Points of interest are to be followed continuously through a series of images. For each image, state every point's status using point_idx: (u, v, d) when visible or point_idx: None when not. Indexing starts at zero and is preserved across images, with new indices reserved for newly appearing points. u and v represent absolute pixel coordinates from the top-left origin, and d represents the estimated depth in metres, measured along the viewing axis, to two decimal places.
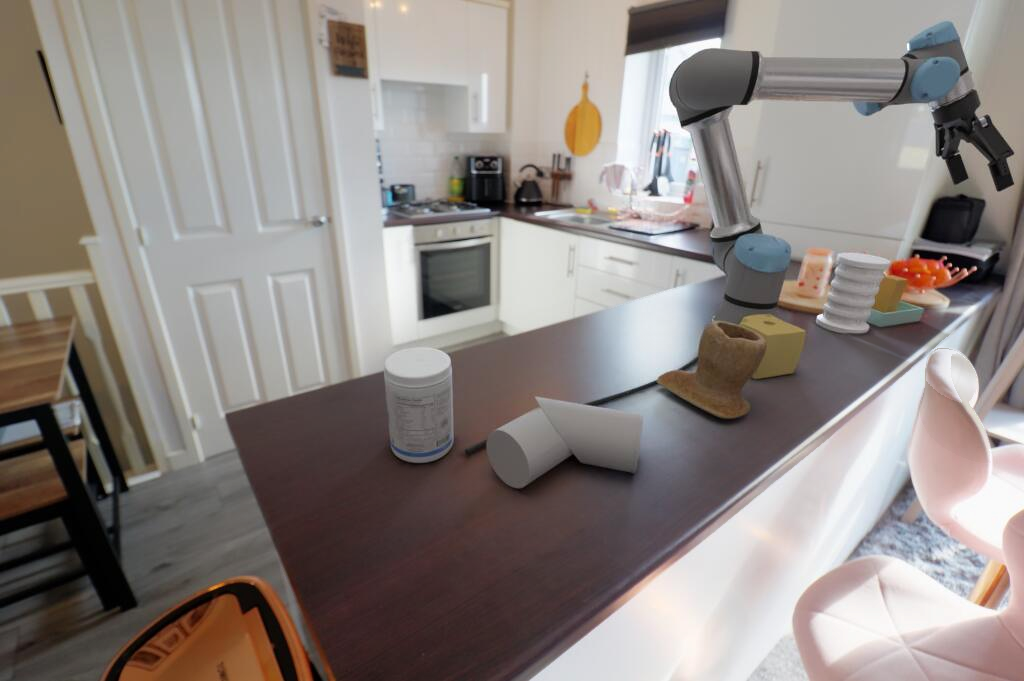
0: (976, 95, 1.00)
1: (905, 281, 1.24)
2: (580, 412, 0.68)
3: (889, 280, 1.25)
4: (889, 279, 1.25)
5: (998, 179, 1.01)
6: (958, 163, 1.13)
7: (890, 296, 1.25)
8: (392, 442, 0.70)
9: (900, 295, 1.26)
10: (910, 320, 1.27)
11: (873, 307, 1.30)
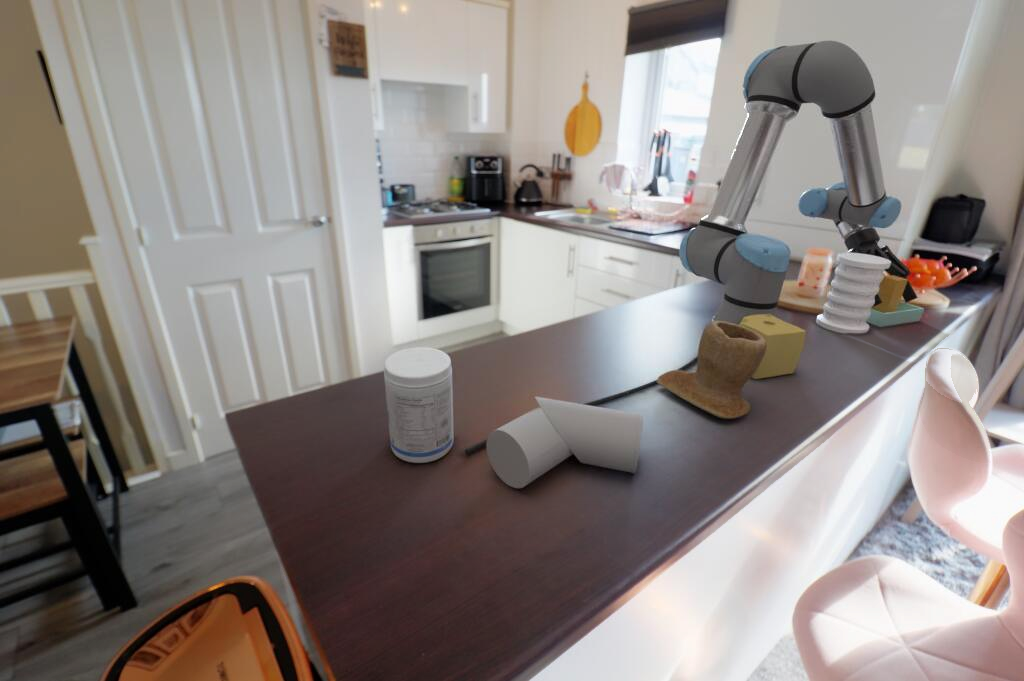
0: None
1: (905, 281, 1.24)
2: (580, 412, 0.68)
3: (889, 280, 1.25)
4: (889, 279, 1.25)
5: None
6: None
7: (890, 296, 1.25)
8: (392, 442, 0.70)
9: (900, 295, 1.26)
10: (910, 320, 1.27)
11: (873, 307, 1.30)
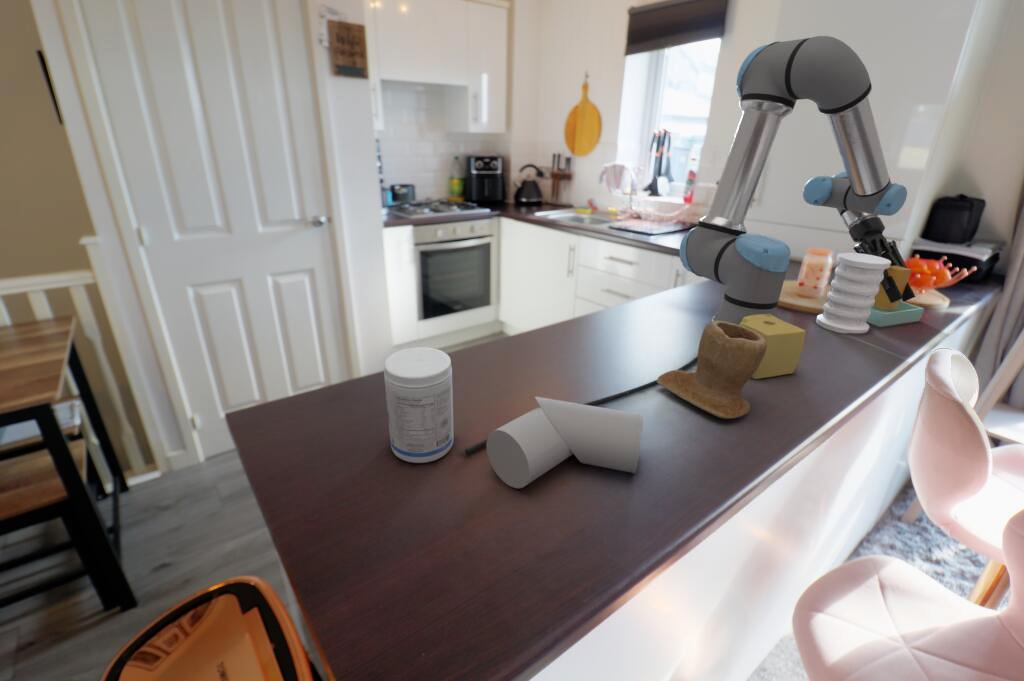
0: None
1: (909, 271, 1.23)
2: (580, 412, 0.68)
3: (893, 270, 1.24)
4: (893, 269, 1.24)
5: None
6: None
7: None
8: (392, 442, 0.70)
9: (904, 285, 1.25)
10: (910, 320, 1.27)
11: (876, 298, 1.28)
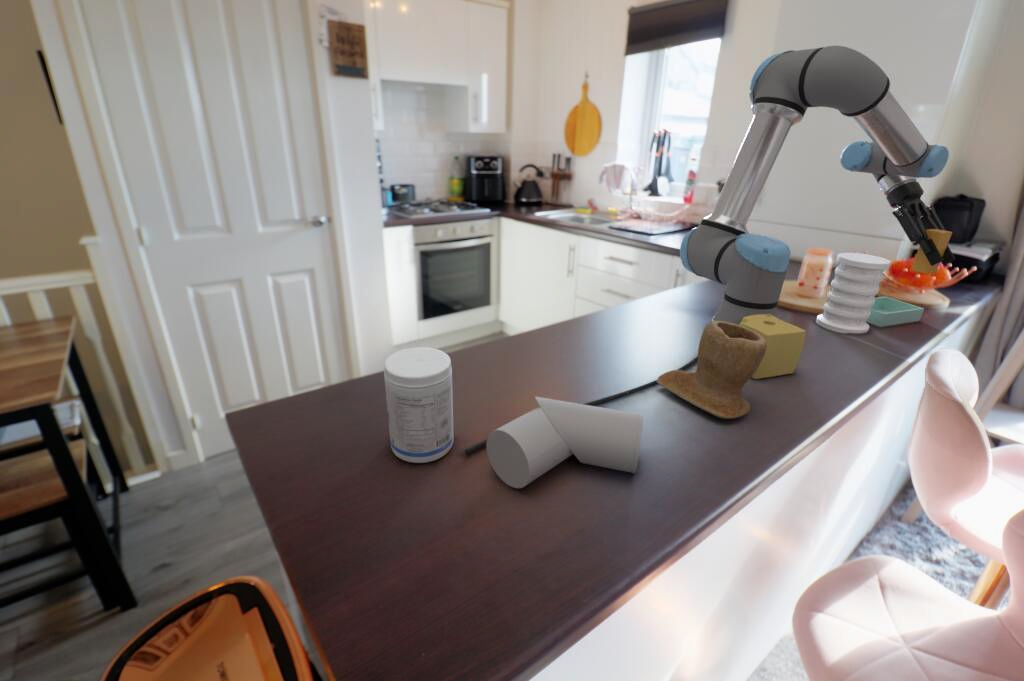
0: None
1: (949, 234, 1.24)
2: (580, 412, 0.68)
3: (933, 233, 1.25)
4: (933, 232, 1.25)
5: None
6: None
7: None
8: (392, 442, 0.70)
9: (944, 248, 1.26)
10: (910, 320, 1.27)
11: (915, 261, 1.29)
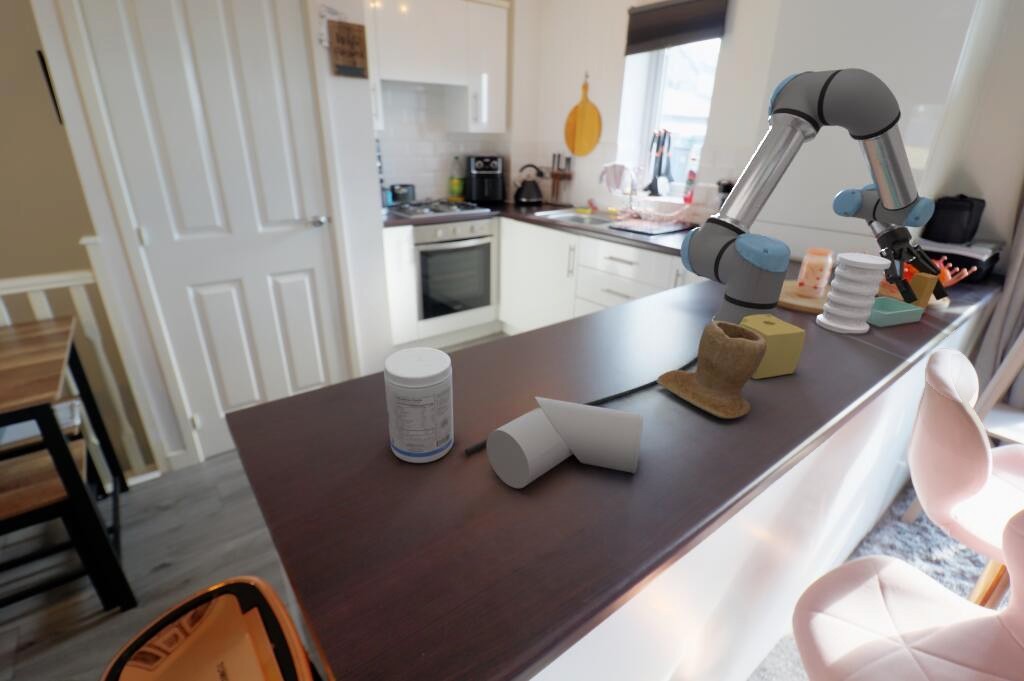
0: None
1: (936, 278, 1.30)
2: (580, 412, 0.68)
3: (920, 277, 1.30)
4: (921, 276, 1.30)
5: None
6: None
7: (921, 293, 1.31)
8: (392, 442, 0.70)
9: (931, 291, 1.31)
10: (910, 320, 1.27)
11: None
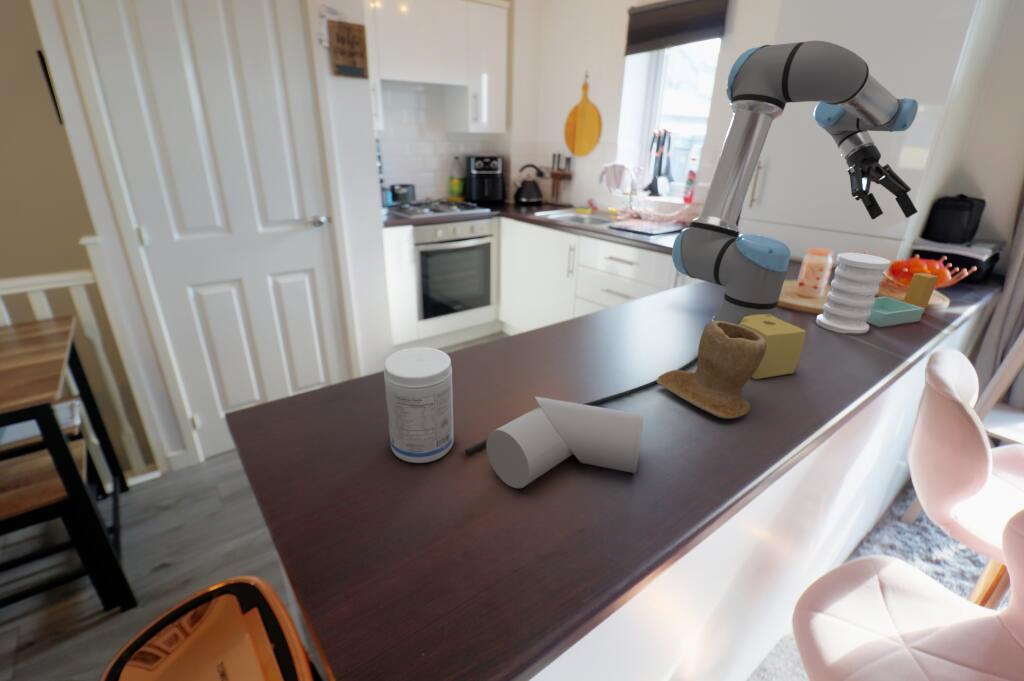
0: None
1: (936, 278, 1.30)
2: (580, 412, 0.68)
3: (920, 277, 1.30)
4: (921, 276, 1.30)
5: None
6: None
7: (921, 293, 1.31)
8: (392, 442, 0.70)
9: (931, 291, 1.31)
10: (910, 320, 1.27)
11: None
